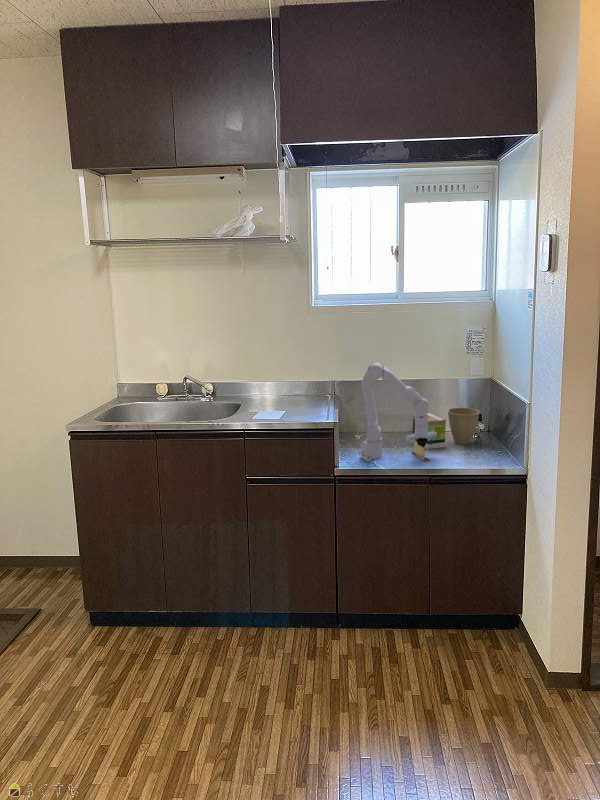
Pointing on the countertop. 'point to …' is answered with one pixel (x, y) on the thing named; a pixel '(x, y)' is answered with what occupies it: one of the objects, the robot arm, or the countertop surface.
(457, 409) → the plant pot
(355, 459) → the countertop surface
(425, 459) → the hinge base
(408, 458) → the countertop surface
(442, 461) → the countertop surface
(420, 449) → the tan flat block
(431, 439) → the tea box
